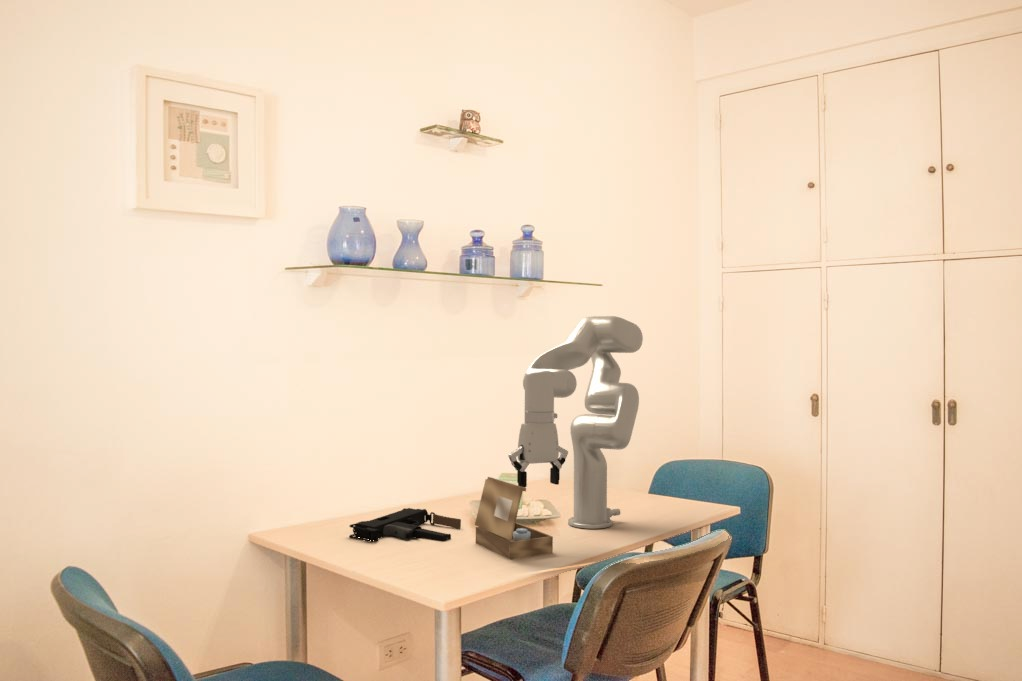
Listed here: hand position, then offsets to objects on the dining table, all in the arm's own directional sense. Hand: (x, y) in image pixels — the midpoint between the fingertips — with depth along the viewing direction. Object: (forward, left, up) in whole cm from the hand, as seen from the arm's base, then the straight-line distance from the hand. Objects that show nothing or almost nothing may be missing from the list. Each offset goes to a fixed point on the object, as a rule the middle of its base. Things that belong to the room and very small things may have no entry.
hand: (538, 485), depth 201 cm
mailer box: (+7, 0, -16) cm, 17 cm away
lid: (+10, 0, -5) cm, 11 cm away
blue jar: (+5, 0, -15) cm, 16 cm away
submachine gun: (+22, -28, -16) cm, 39 cm away
